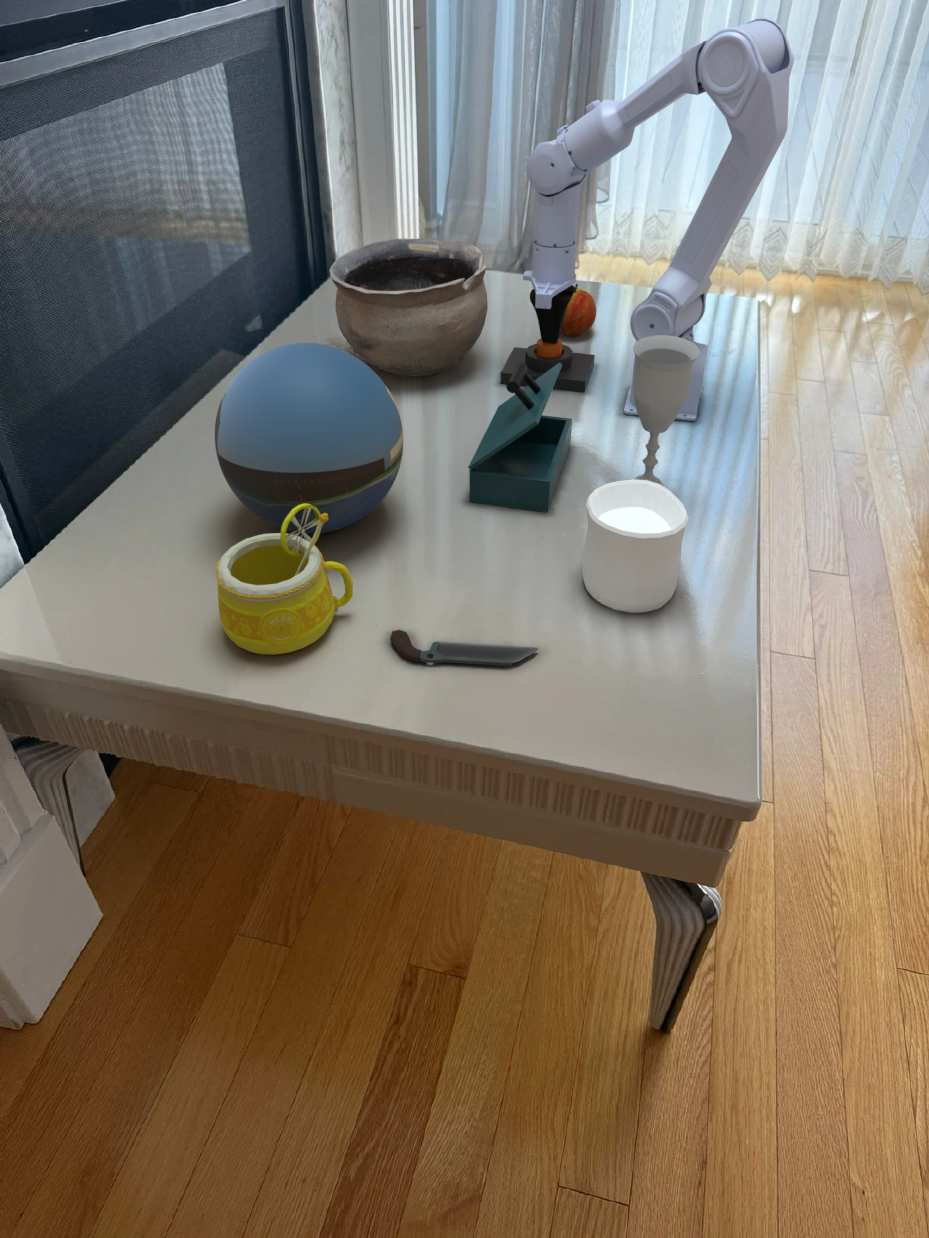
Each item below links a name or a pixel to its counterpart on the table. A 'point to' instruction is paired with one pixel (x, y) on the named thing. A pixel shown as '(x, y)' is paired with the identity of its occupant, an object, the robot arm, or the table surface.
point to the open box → (524, 468)
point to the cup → (633, 545)
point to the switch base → (571, 373)
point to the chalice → (660, 387)
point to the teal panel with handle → (516, 411)
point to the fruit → (579, 314)
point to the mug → (278, 589)
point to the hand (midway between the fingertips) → (550, 341)
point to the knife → (461, 652)
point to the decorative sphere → (309, 436)
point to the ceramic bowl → (411, 303)
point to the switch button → (549, 349)
